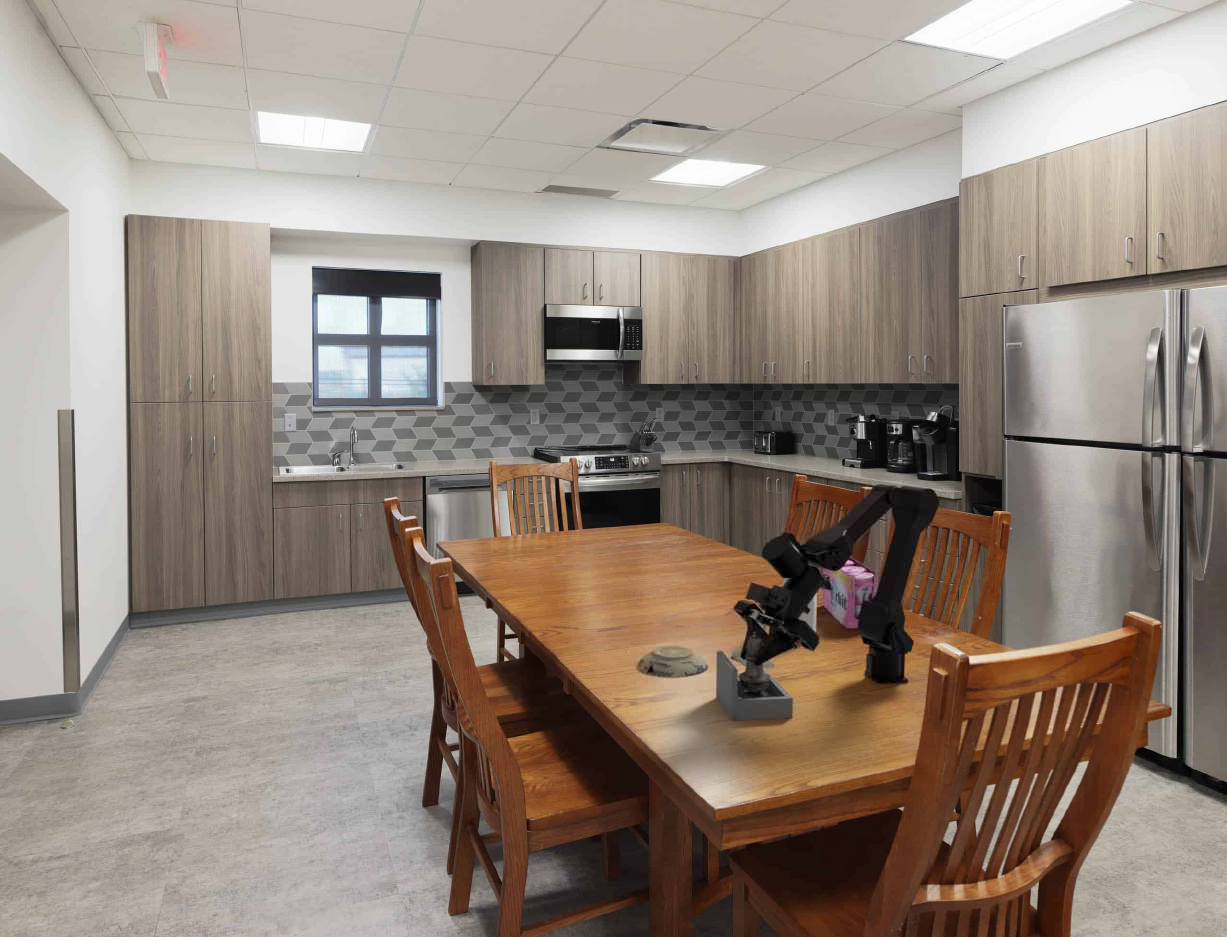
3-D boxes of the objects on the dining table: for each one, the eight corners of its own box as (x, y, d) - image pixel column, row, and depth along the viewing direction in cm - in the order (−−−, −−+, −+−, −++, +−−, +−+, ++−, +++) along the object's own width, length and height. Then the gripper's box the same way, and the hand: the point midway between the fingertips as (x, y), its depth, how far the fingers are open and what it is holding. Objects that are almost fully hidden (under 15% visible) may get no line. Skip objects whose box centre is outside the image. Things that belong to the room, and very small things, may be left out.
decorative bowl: (718, 663, 177) (653, 652, 183) (718, 646, 176) (654, 636, 183) (693, 685, 163) (625, 673, 170) (694, 667, 163) (625, 655, 170)
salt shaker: (773, 701, 146) (773, 635, 146) (739, 701, 147) (739, 635, 146) (768, 690, 152) (768, 626, 151) (736, 690, 153) (736, 626, 152)
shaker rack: (773, 695, 156) (773, 648, 155) (792, 717, 145) (793, 667, 144) (716, 697, 155) (716, 651, 154) (731, 720, 144) (732, 670, 143)
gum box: (880, 630, 199) (881, 575, 198) (847, 631, 199) (848, 575, 198) (850, 605, 223) (851, 556, 222) (821, 606, 223) (822, 556, 222)
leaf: (801, 691, 162) (801, 686, 162) (765, 692, 160) (765, 687, 160) (762, 654, 181) (762, 650, 181) (729, 655, 180) (730, 651, 180)
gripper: (741, 557, 158) (693, 622, 154) (807, 576, 141) (755, 649, 137) (773, 593, 162) (727, 656, 158) (841, 615, 146) (791, 686, 141)
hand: (748, 661), depth 148 cm, fingers closed on salt shaker, 3 cm apart
